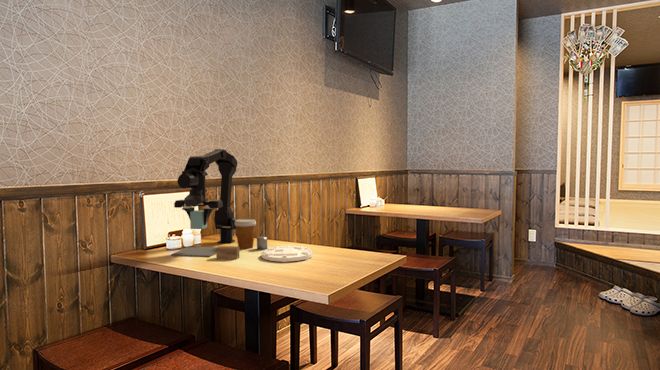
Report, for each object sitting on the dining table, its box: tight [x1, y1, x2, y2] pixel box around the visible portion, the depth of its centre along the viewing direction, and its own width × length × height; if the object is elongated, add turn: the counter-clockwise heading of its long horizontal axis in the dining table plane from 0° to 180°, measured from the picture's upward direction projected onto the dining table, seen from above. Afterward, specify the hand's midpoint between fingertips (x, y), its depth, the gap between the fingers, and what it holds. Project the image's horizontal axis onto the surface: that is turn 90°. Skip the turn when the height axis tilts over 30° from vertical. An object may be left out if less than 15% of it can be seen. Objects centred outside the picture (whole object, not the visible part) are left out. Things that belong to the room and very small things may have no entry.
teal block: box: [189, 209, 208, 230], centre depth 176 cm, size 5×5×7 cm
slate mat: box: [170, 245, 218, 258], centre depth 177 cm, size 16×16×1 cm
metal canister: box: [256, 236, 268, 251], centre depth 184 cm, size 4×4×5 cm
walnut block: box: [215, 245, 240, 260], centre depth 166 cm, size 4×8×4 cm, turn 87°
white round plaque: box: [261, 245, 313, 263], centre depth 169 cm, size 20×20×3 cm
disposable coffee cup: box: [234, 218, 257, 250], centre depth 187 cm, size 10×10×12 cm
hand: (198, 224), depth 177 cm, fingers closed on teal block, 5 cm apart
